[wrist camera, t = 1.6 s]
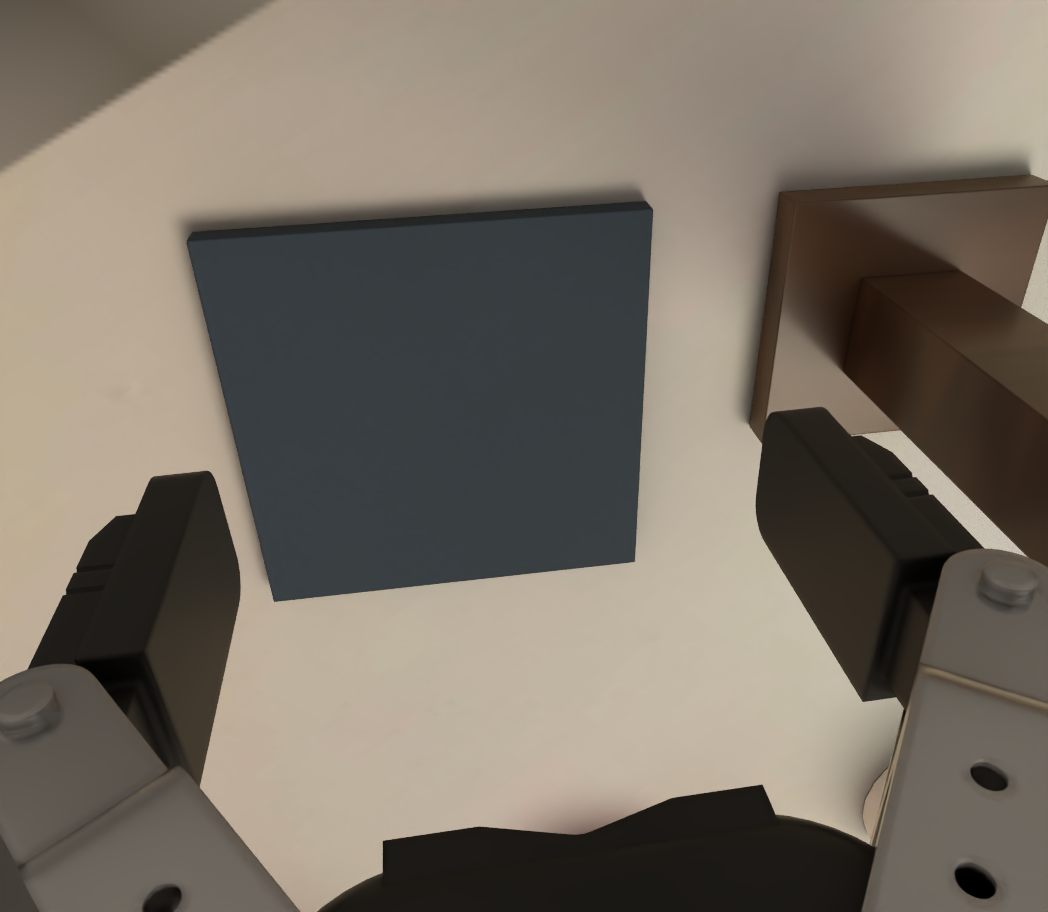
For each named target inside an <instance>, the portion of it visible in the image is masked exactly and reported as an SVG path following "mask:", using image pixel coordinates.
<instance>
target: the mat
mask: <svg viewBox="0 0 1048 912" xmlns="http://www.w3.org/2000/svg"><path fill="white" fill-rule="evenodd" d="M652 220H653V209H652V207H651V206H650V205H649V204H648V203H647V202H646V201H642V202H628V203H613V204H598V205H584V206H569V207H555V208H540V209H525V210H511V211H496V212H482V213H467V214H452V215H438V216H423V217H408V218H394V219H379V220H365V221H350V222H335V223H321V224H306V225H291V226H277V227H262V228H248V229H233V230H218V231H204V232H192V233H191V235H190V237H189V238H188V240H187V246H188V250H189V254H190V258H191V262H192V267H193V271H194V275H195V279H196V283H197V287H198V291H199V295H200V299H201V304H202V308H203V312H204V316H205V320H206V324H207V328H208V332H209V336H210V341H211V345H212V349H213V353H214V357H215V361H216V365H217V369H218V373H219V378H220V382H221V386H222V390H223V394H224V398H225V402H226V406H227V410H228V415H229V419H230V423H231V427H232V431H233V435H234V439H235V443H236V448H237V452H238V456H239V460H240V464H241V468H242V472H243V476H244V480H245V485H246V489H247V493H248V497H249V501H250V505H251V509H252V513H253V517H254V522H255V526H256V530H257V534H258V538H259V542H260V546H261V550H262V554H263V559H264V563H265V567H266V571H267V575H268V579H269V583H270V587H271V591H272V596H273V600H274V602H277V601H286V600H295V599H304V598H313V597H322V596H331V595H340V594H349V593H358V592H367V591H376V590H385V589H394V588H403V587H412V586H422V585H431V584H440V583H449V582H458V581H467V580H476V579H485V578H494V577H503V576H512V575H521V574H530V573H539V572H548V571H557V570H566V569H575V568H584V567H593V566H602V565H611V564H620V563H629V562H635V548H636V529H637V509H638V490H639V471H640V452H641V432H642V413H643V394H644V375H645V355H646V336H647V317H648V297H649V278H650V259H651V240H652Z"/></svg>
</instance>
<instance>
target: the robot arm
mask: <svg viewBox="0 0 1048 912" xmlns="http://www.w3.org/2000/svg"><path fill="white" fill-rule="evenodd" d="M756 516H757V522H758V526H759V530H760V533H761V535H762V538H763V540H764V542H765V543H766V545H767V546H768V548H769V550H770V551H771V553H772V555H773V556H774V558H775V560H776V561H777V563H778V564H779V566H780V568H781V569H782V571H783V573H784V574H785V576H786V577H787V579H788V581H789V582H790V584H791V586H792V587H793V589H794V591H795V592H796V594H797V595H798V597H799V599H800V600H801V602H802V604H803V605H804V607H805V608H806V610H807V612H808V613H809V615H810V617H811V618H812V620H813V622H814V623H815V625H816V626H817V628H818V630H819V631H820V633H821V635H822V636H823V638H824V639H825V641H826V643H827V644H828V646H829V648H830V649H831V651H832V653H833V654H834V656H835V657H836V659H837V661H838V662H839V664H840V666H841V667H842V669H843V670H844V672H845V674H846V675H847V677H848V679H849V680H850V682H851V683H852V685H853V687H854V688H855V690H856V692H857V693H858V695H859V697H860V698H861V700H862V701H863V702H865V701H873V700H880V699H887V698H894V697H897V699H898V700H899V702H900V703H901V705H902V706H903V708H904V709H903V713H902V717H901V720H900V724H899V728H898V732H897V736H896V740H895V744H894V748H893V752H892V756H891V760H890V764H889V768H888V772H887V776H886V780H885V784H884V788H883V792H882V796H881V800H880V804H879V808H878V812H877V816H876V821H875V825H874V829H873V833H872V836H871V840H870V844H867V843H866V842H864V841H862V840H860V839H858V838H856V837H854V836H852V835H849V834H847V833H844V832H842V831H840V830H837V829H835V828H832V827H829V826H826V825H823V824H820V823H816V822H813V821H810V820H805V819H800V818H795V817H790V816H784V815H775V812H774V810H773V808H772V806H771V803H770V801H769V799H768V796H767V794H766V792H765V790H764V787H763V785H757V786H750V787H743V788H737V789H730V790H723V791H716V792H710V793H703V794H696V795H689V796H683V797H676V798H671V799H669V800H666V801H664V802H661V803H659V804H657V805H654V806H652V807H649V808H647V809H645V810H642V811H640V812H637V813H635V814H632V815H630V816H628V817H625V818H623V819H620V820H618V821H616V822H613V823H611V824H608V825H606V826H604V827H601V828H599V829H596V830H594V831H592V832H588V833H585V834H579V835H569V834H557V833H546V832H534V831H523V830H512V829H500V828H489V827H473V828H467V829H460V830H453V831H446V832H440V833H433V834H426V835H419V836H413V837H406V838H399V839H392V840H386V841H383V873H381V874H379V875H376V876H374V877H372V878H369V879H367V880H365V881H363V882H361V883H359V884H358V885H356V886H354V887H352V888H350V889H348V890H347V891H345V892H343V893H342V894H340V895H339V896H338V897H336V898H335V899H333V900H332V901H330V902H329V903H328V904H326V905H325V906H323V907H322V908H321V909H320V910H319V911H317V912H1048V567H1046V566H1045V565H1043V564H1041V563H1039V562H1037V561H1035V560H1033V559H1030V558H1028V557H1025V556H1023V555H1019V554H1016V553H1012V552H1008V551H1003V550H996V549H984V548H983V547H982V546H981V544H980V543H979V542H978V541H977V540H976V539H975V538H974V537H973V536H972V535H971V534H970V533H969V532H968V531H967V530H966V529H965V528H964V527H963V526H962V525H961V524H960V523H959V522H958V520H957V519H956V518H955V517H954V516H953V515H952V514H951V513H950V512H949V511H948V510H947V509H946V508H945V507H944V506H943V505H942V504H941V503H940V502H939V501H938V500H937V499H936V498H935V496H934V495H929V493H928V489H927V488H926V487H925V486H924V485H923V484H922V483H921V482H920V481H919V480H918V479H917V478H916V477H912V472H911V471H910V470H909V469H908V468H907V467H906V466H905V465H904V464H903V463H902V462H901V461H900V460H899V459H898V458H897V457H896V456H895V455H894V454H893V453H892V452H891V451H889V450H887V449H885V448H883V447H882V446H880V445H878V444H876V443H874V442H872V441H871V440H869V439H867V438H865V437H863V436H861V435H860V436H851V435H850V434H849V433H848V432H847V431H846V430H845V429H844V428H843V427H842V425H841V424H840V423H839V422H838V421H837V420H836V419H835V418H834V417H833V416H832V414H831V413H830V412H829V411H828V410H827V409H826V408H824V407H813V408H803V409H794V410H785V411H775V412H771V413H770V414H769V416H768V417H767V420H766V423H765V428H764V436H763V444H762V452H761V460H760V469H759V477H758V485H757V493H756ZM76 568H77V573H74V574H73V576H72V578H71V580H70V582H69V584H68V586H67V588H66V595H63V597H62V599H61V601H60V603H59V605H58V607H57V609H56V611H55V613H54V615H53V617H52V619H51V621H50V624H49V626H48V628H47V630H46V632H45V634H44V636H43V638H42V640H41V642H40V644H39V646H38V649H37V651H36V653H35V655H34V657H33V659H32V661H31V663H30V665H29V667H28V669H27V670H25V671H23V672H20V673H17V674H15V675H13V676H11V677H9V678H7V679H5V680H3V681H1V682H0V912H300V911H299V909H298V908H297V907H296V906H295V905H294V903H293V902H292V901H291V900H290V898H289V897H288V896H287V895H286V893H285V892H284V891H283V890H282V888H281V887H280V886H279V885H278V884H277V882H276V881H275V880H274V879H273V877H272V876H271V875H270V874H269V872H268V871H267V870H266V869H265V868H264V866H263V865H262V864H261V863H260V861H259V860H258V859H257V858H256V856H255V855H254V854H253V853H252V852H251V850H250V849H249V848H248V847H247V845H246V844H245V843H244V842H243V840H242V839H241V838H240V837H239V835H238V834H237V833H236V832H235V831H234V829H233V828H232V827H231V826H230V824H229V823H228V822H227V821H226V819H225V818H224V817H223V816H222V815H221V813H220V812H219V811H218V810H217V808H216V807H215V806H214V805H213V803H212V802H211V801H210V800H209V798H208V797H207V796H206V795H205V794H204V792H203V791H202V790H201V789H200V783H201V778H202V774H203V769H204V764H205V760H206V755H207V750H208V746H209V741H210V736H211V732H212V727H213V723H214V718H215V713H216V709H217V704H218V699H219V695H220V690H221V685H222V681H223V676H224V672H225V667H226V662H227V658H228V653H229V648H230V644H231V639H232V634H233V630H234V625H235V621H236V616H237V611H238V607H239V601H240V571H239V564H238V559H237V555H236V552H235V548H234V545H233V541H232V537H231V534H230V530H229V527H228V523H227V520H226V516H225V512H224V509H223V505H222V502H221V498H220V495H219V491H218V487H217V484H216V481H215V479H214V477H213V475H212V474H211V472H209V471H201V472H191V473H182V474H173V475H163V476H154V477H152V478H151V479H150V481H149V483H148V486H147V488H146V490H145V493H144V495H143V497H142V500H141V502H140V504H139V507H138V509H137V511H136V514H132V515H123V516H116V517H115V518H114V519H113V520H111V521H110V522H109V523H108V524H107V525H106V526H105V527H104V528H103V529H102V530H101V531H100V532H98V533H97V534H96V535H95V536H94V537H93V538H92V539H91V540H90V541H89V542H88V544H87V547H86V549H85V551H84V553H83V555H82V557H81V559H80V561H79V563H78V565H77V567H76Z"/></svg>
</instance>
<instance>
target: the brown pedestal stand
mask: <svg viewBox="0 0 1048 912" xmlns="http://www.w3.org/2000/svg"><path fill="white" fill-rule="evenodd" d="M1047 219H1048V181H1046V180H1044V179H1041V178H1039V177H1036V176H1034V175H1022V176H1007V177H993V178H978V179H963V180H949V181H934V182H920V183H905V184H890V185H876V186H861V187H846V188H832V189H817V190H803V191H788V192H780V194H779V202H778V210H777V218H776V225H775V233H774V241H773V248H772V256H771V264H770V272H769V279H768V287H767V295H766V303H765V310H764V318H763V326H762V334H761V341H760V349H759V357H758V364H757V372H756V380H755V388H754V395H753V403H752V411H751V419H750V428H751V429H752V430H753V432H754V433H755V435H756V436H757V437H758V439H759V440H760V442H761V443H762V444H763V436H764V428H765V423H766V420H767V417H768V416H769V414H770V413H771V412H775V411H785V410H794V409H803V408H813V407H824V408H826V409H827V410H828V411H829V412H830V413H831V414H832V416H833V417H834V418H835V419H836V420H837V421H838V422H839V423H840V424H841V425H842V427H843V428H844V429H845V430H846V431H847V432H848V433H849V434H850V435H856V434H867V433H877V432H887V431H897V430H901V431H902V432H903V433H904V434H905V435H906V436H907V437H908V438H909V439H910V440H911V441H912V442H913V443H914V444H915V445H916V446H917V447H918V448H919V449H920V450H921V451H922V452H923V453H924V454H925V455H926V456H927V457H928V458H929V459H930V460H931V461H932V462H933V463H934V464H935V465H936V466H937V467H938V468H939V469H940V470H941V471H942V472H943V473H944V474H945V475H946V476H947V477H948V478H949V479H950V480H951V481H952V482H953V483H954V484H955V485H956V486H957V487H958V488H959V489H960V490H961V491H962V492H963V493H964V494H965V495H966V496H967V497H968V498H969V499H970V500H971V501H972V502H973V503H974V504H975V505H976V506H977V507H978V508H979V509H980V510H981V511H982V512H983V513H984V514H985V515H986V516H987V517H988V518H989V519H990V520H991V521H992V522H993V523H994V524H995V525H996V526H997V527H998V528H999V529H1000V530H1001V531H1002V532H1003V533H1004V534H1005V535H1006V536H1007V537H1008V538H1009V539H1010V540H1011V541H1012V542H1013V543H1014V544H1015V545H1016V546H1017V547H1018V548H1019V549H1020V550H1021V551H1022V552H1023V553H1024V554H1025V555H1026V556H1027V557H1028V558H1030V559H1033V560H1035V561H1037V562H1039V563H1041V564H1043V565H1045V566H1046V567H1048V324H1047V323H1045V322H1043V321H1042V320H1040V319H1039V318H1037V317H1035V316H1034V315H1032V314H1030V313H1029V312H1027V311H1026V310H1024V309H1022V308H1021V306H1022V303H1023V300H1024V296H1025V293H1026V290H1027V286H1028V283H1029V280H1030V276H1031V273H1032V270H1033V266H1034V263H1035V260H1036V256H1037V253H1038V249H1039V246H1040V243H1041V239H1042V236H1043V233H1044V229H1045V226H1046V223H1047Z"/></svg>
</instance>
